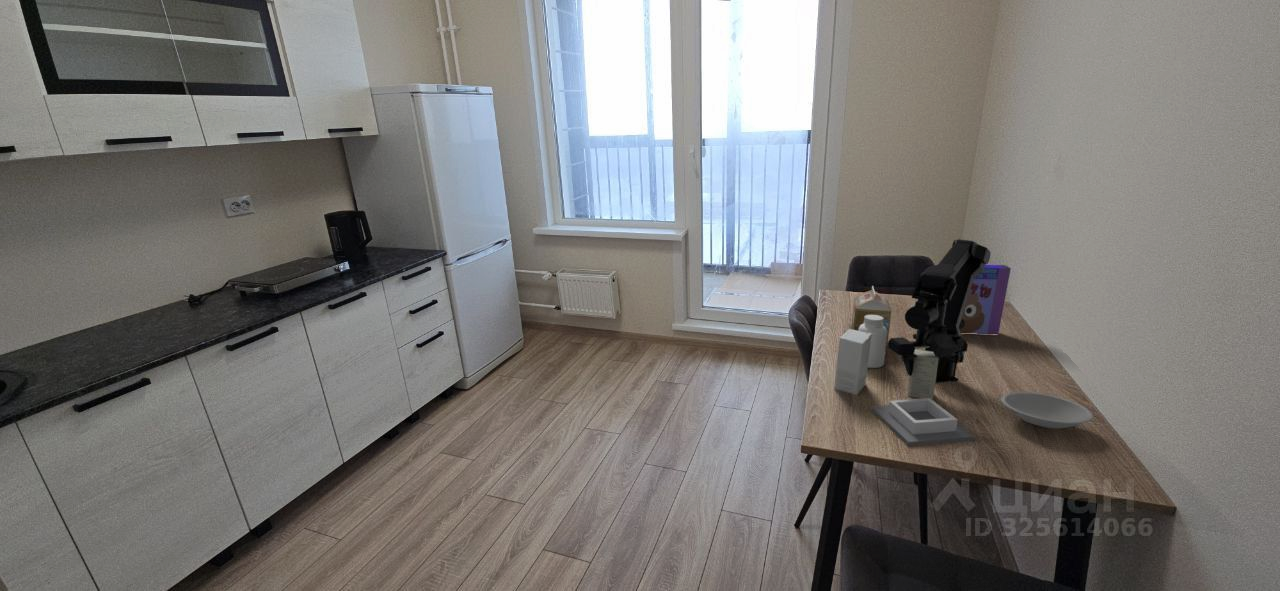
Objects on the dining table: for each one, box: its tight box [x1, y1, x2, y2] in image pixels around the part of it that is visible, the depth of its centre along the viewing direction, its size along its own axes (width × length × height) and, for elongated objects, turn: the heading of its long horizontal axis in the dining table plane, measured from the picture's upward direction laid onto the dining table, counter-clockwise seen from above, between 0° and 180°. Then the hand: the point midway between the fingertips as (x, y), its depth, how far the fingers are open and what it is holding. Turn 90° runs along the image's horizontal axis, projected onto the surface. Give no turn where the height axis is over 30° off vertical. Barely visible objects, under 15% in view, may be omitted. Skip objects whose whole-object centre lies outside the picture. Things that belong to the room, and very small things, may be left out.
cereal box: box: [959, 264, 1011, 335], centre depth 179 cm, size 17×5×24 cm, turn 80°
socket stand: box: [871, 398, 976, 447], centre depth 126 cm, size 16×16×4 cm
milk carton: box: [850, 285, 892, 353], centre depth 171 cm, size 11×11×19 cm
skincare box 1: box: [833, 328, 872, 396], centre depth 144 cm, size 8×7×16 cm
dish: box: [1000, 391, 1094, 429], centre depth 124 cm, size 18×14×5 cm
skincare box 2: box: [906, 349, 939, 401], centre depth 139 cm, size 6×4×12 cm
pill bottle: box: [858, 315, 887, 369], centre depth 158 cm, size 8×8×15 cm
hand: (923, 374), depth 139 cm, fingers closed on skincare box 2, 7 cm apart
